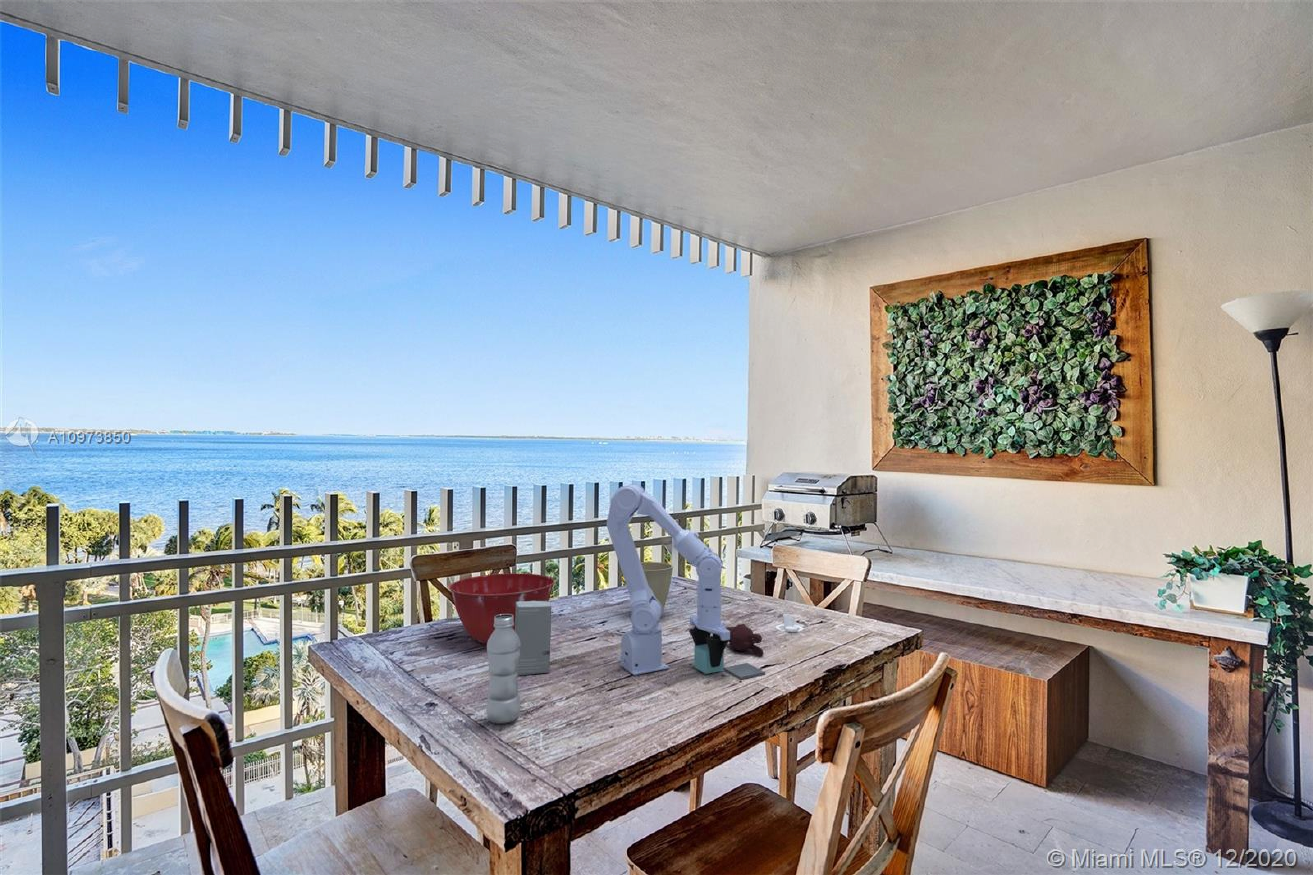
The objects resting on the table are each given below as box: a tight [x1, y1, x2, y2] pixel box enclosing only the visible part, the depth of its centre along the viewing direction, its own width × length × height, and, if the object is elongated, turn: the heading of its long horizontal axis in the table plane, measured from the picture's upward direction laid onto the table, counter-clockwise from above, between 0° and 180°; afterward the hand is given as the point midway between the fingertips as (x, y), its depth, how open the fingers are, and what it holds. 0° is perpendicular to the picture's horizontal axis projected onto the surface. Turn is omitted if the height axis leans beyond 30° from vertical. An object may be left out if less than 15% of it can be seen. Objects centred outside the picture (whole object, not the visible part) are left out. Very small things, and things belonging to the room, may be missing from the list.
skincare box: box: [515, 600, 552, 677], centre depth 145 cm, size 8×7×16 cm
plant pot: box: [640, 561, 674, 613], centre depth 191 cm, size 15×15×16 cm
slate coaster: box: [723, 662, 766, 681], centre depth 143 cm, size 7×7×1 cm
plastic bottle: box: [485, 614, 521, 725], centre depth 118 cm, size 6×7×20 cm
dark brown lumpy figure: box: [724, 623, 765, 657], centre depth 160 cm, size 7×8×15 cm
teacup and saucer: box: [775, 613, 804, 633], centre depth 179 cm, size 9×8×4 cm
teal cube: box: [693, 644, 725, 675], centre depth 145 cm, size 5×5×5 cm
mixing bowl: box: [448, 572, 556, 645], centre depth 169 cm, size 28×28×16 cm
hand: (708, 662), depth 145 cm, fingers closed on teal cube, 5 cm apart
